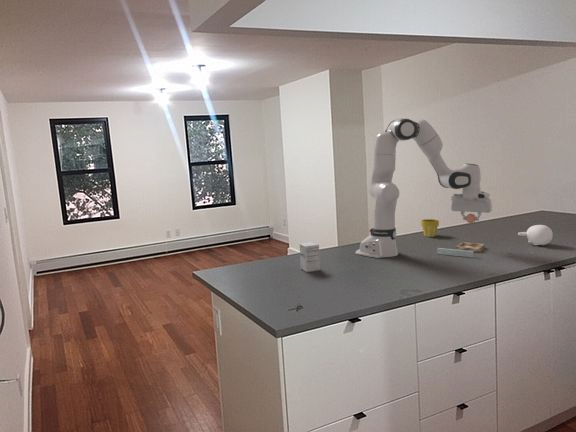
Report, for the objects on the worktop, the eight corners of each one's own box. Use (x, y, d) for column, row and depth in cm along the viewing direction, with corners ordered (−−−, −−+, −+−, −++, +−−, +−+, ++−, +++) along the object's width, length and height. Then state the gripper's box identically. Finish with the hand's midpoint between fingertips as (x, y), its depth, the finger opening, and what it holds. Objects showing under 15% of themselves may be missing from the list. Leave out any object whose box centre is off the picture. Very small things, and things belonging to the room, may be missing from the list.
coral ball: (464, 223, 254) (464, 214, 253) (467, 222, 258) (467, 212, 257) (474, 224, 251) (474, 214, 250) (477, 222, 255) (477, 213, 254)
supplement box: (300, 268, 233) (299, 243, 231) (314, 266, 235) (313, 241, 233) (306, 272, 226) (305, 246, 224) (320, 270, 229) (319, 244, 227)
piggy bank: (555, 249, 255) (529, 246, 268) (558, 227, 256) (532, 225, 269) (541, 245, 249) (515, 242, 262) (544, 223, 250) (518, 221, 263)
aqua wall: (437, 253, 250) (437, 248, 249) (437, 253, 251) (437, 247, 250) (472, 257, 239) (473, 251, 239) (473, 257, 240) (473, 251, 240)
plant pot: (431, 233, 301) (431, 218, 300) (442, 236, 292) (442, 220, 290) (417, 235, 298) (417, 220, 296) (428, 238, 288) (428, 222, 287)
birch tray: (455, 250, 255) (455, 246, 255) (462, 245, 265) (462, 242, 265) (479, 252, 248) (479, 248, 248) (485, 247, 258) (485, 244, 258)
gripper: (449, 194, 256) (449, 219, 258) (489, 195, 244) (489, 222, 246) (453, 193, 261) (453, 218, 263) (493, 194, 249) (492, 220, 251)
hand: (470, 220), depth 254 cm, fingers closed on coral ball, 5 cm apart
